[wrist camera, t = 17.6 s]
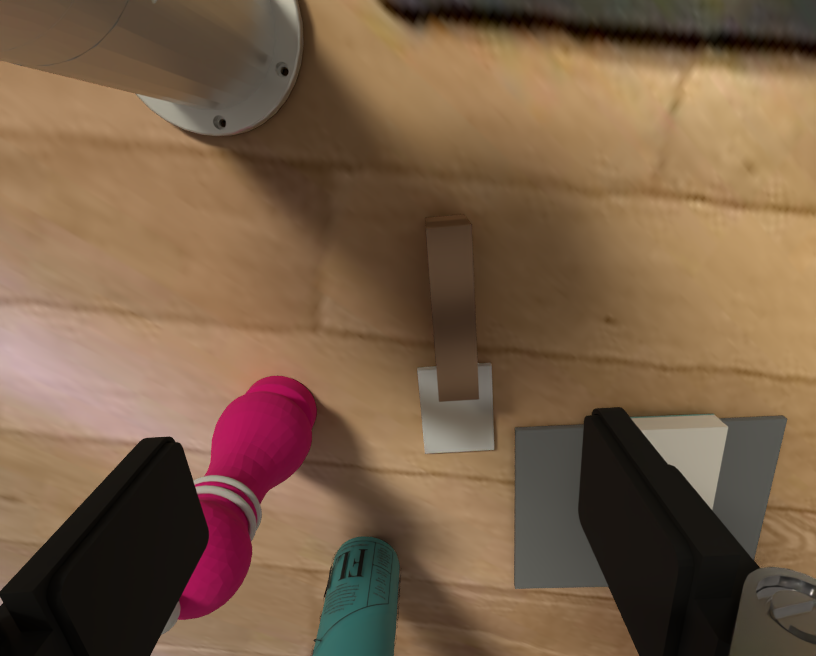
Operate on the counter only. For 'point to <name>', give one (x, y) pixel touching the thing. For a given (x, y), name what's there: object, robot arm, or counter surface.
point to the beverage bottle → (360, 601)
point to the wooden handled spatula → (454, 347)
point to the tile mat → (559, 495)
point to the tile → (689, 447)
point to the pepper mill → (244, 484)
